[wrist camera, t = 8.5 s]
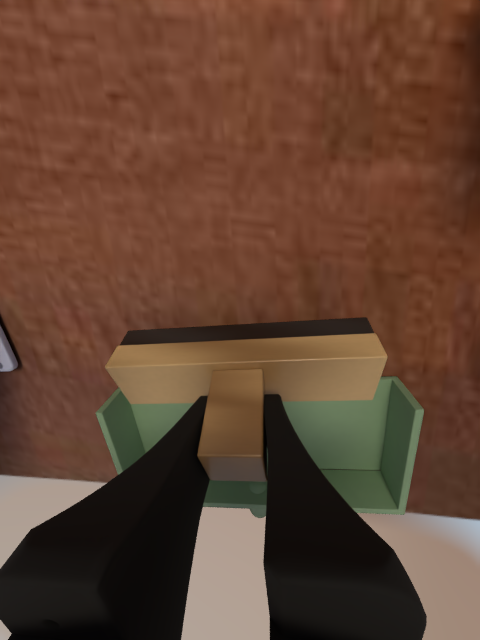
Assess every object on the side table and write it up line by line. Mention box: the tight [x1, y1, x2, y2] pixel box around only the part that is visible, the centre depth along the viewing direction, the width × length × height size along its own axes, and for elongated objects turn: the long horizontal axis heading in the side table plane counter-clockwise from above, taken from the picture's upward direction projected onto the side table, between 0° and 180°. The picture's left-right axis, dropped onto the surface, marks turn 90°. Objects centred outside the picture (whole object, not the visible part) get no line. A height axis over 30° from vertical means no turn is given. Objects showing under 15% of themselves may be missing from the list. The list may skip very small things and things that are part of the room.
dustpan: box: [96, 376, 424, 518], centre depth 16 cm, size 10×17×3 cm, turn 96°
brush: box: [105, 317, 387, 482], centre depth 11 cm, size 12×3×6 cm, turn 96°
